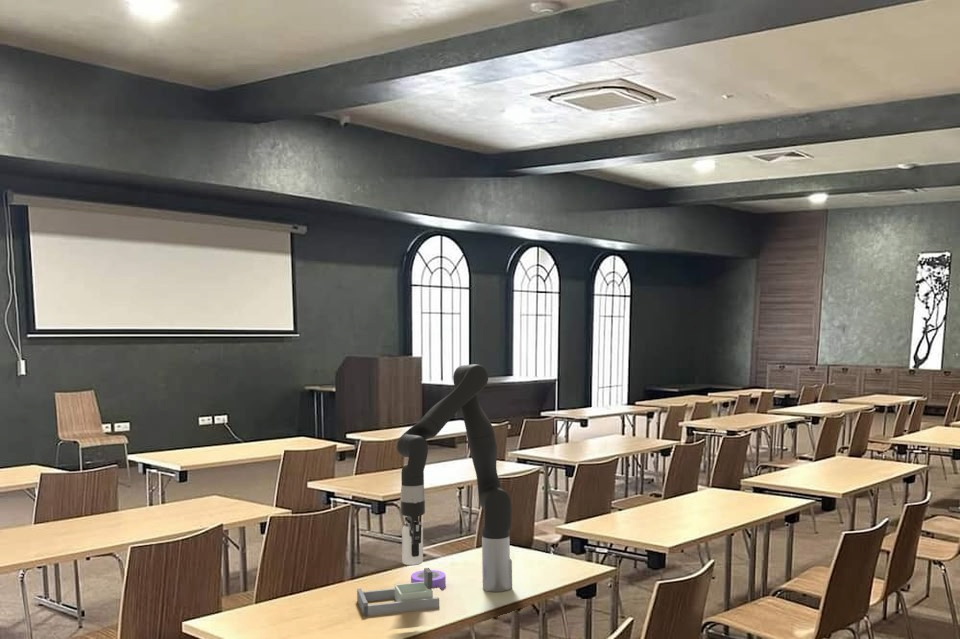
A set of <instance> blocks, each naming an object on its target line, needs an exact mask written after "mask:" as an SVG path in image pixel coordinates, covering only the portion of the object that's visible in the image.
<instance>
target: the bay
mask: <svg viewBox="0 0 960 639" xmlns="http://www.w3.org/2000/svg"><path fill="white" fill-rule="evenodd" d="M356 592H357V593H356V595H357V598H356V600H357V604H358V607H359V608H360V611H361V613H362V616H363V617H371V616H372V617H373V616H378V615H388V614H397V613H406V612H407V613H408V612H413V611H415V612H417V611H422V610H424V611H425V610H431V609H433V610H434V609H440V597H439V596H438V597H433V598H426V599H417V600H408V601H399V602H396V601H391V602H389V601H388V602H383V603H382V602H381V603H373V604H372V603H371V604H369V602H374V601H383V600H391V599H394V600H395V587H393V588H392V587H391V588H383V589H382V588H381V589H373V590H365V591H363V589H362V587H361V588H357V590H356Z"/></svg>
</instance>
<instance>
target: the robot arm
mask: <svg viewBox="0 0 960 639" xmlns="http://www.w3.org/2000/svg"><path fill="white" fill-rule="evenodd" d="M452 378H453V379H452V380H453V385H454V390H452V391H451V392H450V393H449V394H448V395H446V396H445V397H444V398H442V399H441V400H439V401H438V402H437V403H435V404H434V405H433V406H432V407H430V409H429V410H428V411H427V412H426V413H425V415H423V416H422V418H421V419H420V421H418V422H416V423H415V424H414V425H413V426H412V427H411V426H410V428H409V429H408V430H406V431H405V432H404V433H402V435H400V437H399V439H398V441H397V443H396V449H397V451H398V453H399V455H401V456H403V457H407V458H408V460H407V464H406V465H404V466H403V467H402V468H401V474H400V475H401V487H400V514H401V516H403V517H404V522H405V523H406V525H407V526H408V527H409V536H410V537H411V549H412V556H413V557H416V556H419V544H420V543H421V527H422V528H423V526H422V525H421V524H422V522H421V520H419V517H420V516H424V515H425V512H426V495H425V494H426V492H425V478H424V477H425V476H424V475H425V473H424V472H425V471H424V470H425V467H426V464H427V459H428V454H429V446H428V442H427V440H429V439H432V438H435V437H436V436H437V435H438V434H439V433H440V431H442V429H443V428H444V427H445V426H446V424H448V422H449V421H450V420H451V419H452V418H453V417H454V416H455V414H456V413H457V412H459V411H460V410H461V413H462V418H463V422H464V423H463V424H464V428H465V432H466V437H467V438H466V439H467V443H468V447H469V451H470V456H471V460H472V463H473V467H474V471H475V475H476V483H477V484H476V485H477V493H478V501H479V502H478V503H479V505H480V507H481V509H482V510H483V511H484V523H483V524H484V525H483V526H482V528H481V541H482V542H481V552H482V553H481V554H482V555H481V560H482V562H481V563H482V567H481V568H482V572H481V573H482V589H483V590H485V591H486V592H493V593H499V592H506V591H509V590H512V589H513V560H512V559H511V558H510V557H511V554H510V553H511V549H510V548H511V547H510V534H511V533H510V532H511V528H512V508H513V507H512V499H511V496H510V494H509V493H508V492H507V491H506V490H504V489H503V488H502V486H501V482H500V480H499V476H498V470H497V458H498V445H497V439H496V434H495V430H494V427H493V424H492V423H491V421H490V419H489V418H488V416H487V414H486V412H484V410H483V408H482V406H481V403H480V401H479V395H478V394H479V393H480V392H481V391H482V390H484V388H485V387H486V386H487V385H488V382H489V372H488V370H487V369H486V368H485V366H483V365H481V364H464V365H463V364H462V365H459V366H457V368H456V369H455V370H454V373H453V377H452ZM405 523H404V524H405ZM411 530H412V531H413V534H412V533H411ZM415 537H417V539H415Z"/></svg>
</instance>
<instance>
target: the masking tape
mask: <svg viewBox="0 0 960 639" xmlns="http://www.w3.org/2000/svg"><path fill="white" fill-rule="evenodd" d="M430 570H431V571H432V588H435V587H438V589H439V590H442V589H444V588H445V587H446V586H445V585H446V582H447V580H446V577H447V576H446V573H445V572H443V571H440V570H435V569H430ZM418 582H424V569H422V570H418V571H415V572H413V573H411V574H410V583H418Z"/></svg>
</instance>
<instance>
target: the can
mask: <svg viewBox="0 0 960 639" xmlns="http://www.w3.org/2000/svg"><path fill="white" fill-rule="evenodd" d="M421 526H422V523H421ZM401 532H402V535H401V537H402V538H401V539H402V540H401V547H402V548H401V549H402V550H401V552H402V553H401V557H402V559H401V560H402V564H404V565H406V566H410V567H411V566H413V567H414V566H420V565H421V564H422V563H423V562H424V528H423V526H422V527H421V543H420V544H419V556H416V557H413V556H412V549H411V537H410V536H409V527H408V526H407V525H406V523H403V527H402V530H401ZM411 533H412V534H413V531H412V530H411ZM415 539H417V537H415Z"/></svg>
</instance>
